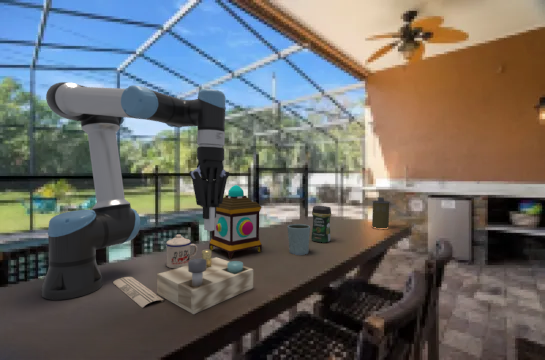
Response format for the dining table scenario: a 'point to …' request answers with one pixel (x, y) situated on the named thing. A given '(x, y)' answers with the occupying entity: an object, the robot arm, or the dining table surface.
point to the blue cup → (298, 238)
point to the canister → (380, 213)
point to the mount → (203, 286)
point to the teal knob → (235, 267)
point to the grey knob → (197, 270)
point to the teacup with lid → (179, 252)
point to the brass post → (207, 257)
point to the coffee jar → (321, 224)
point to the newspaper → (136, 291)
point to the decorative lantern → (236, 223)
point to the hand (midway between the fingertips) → (209, 229)
